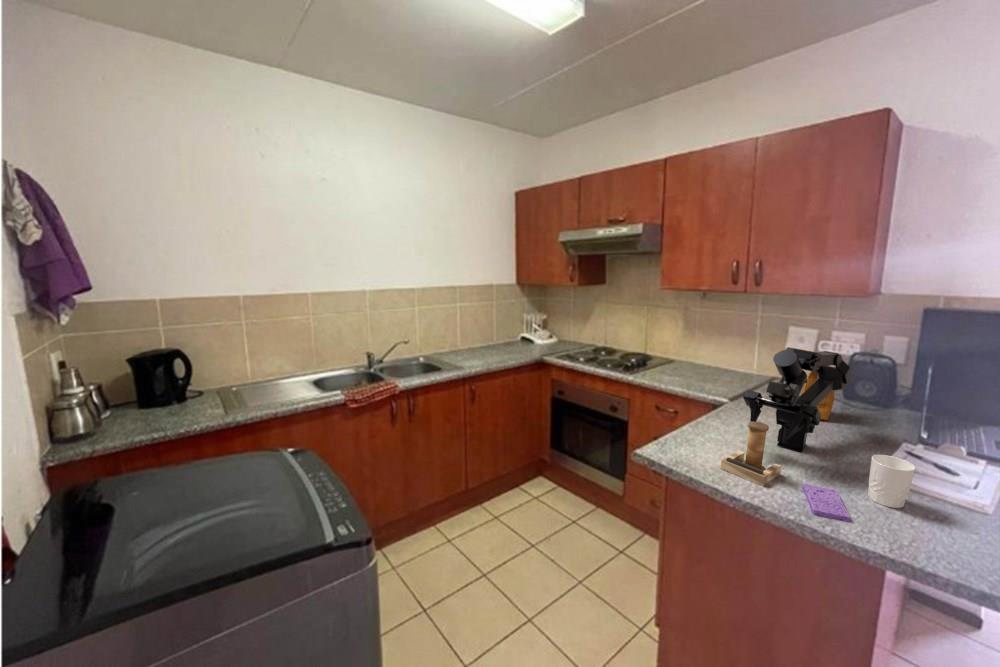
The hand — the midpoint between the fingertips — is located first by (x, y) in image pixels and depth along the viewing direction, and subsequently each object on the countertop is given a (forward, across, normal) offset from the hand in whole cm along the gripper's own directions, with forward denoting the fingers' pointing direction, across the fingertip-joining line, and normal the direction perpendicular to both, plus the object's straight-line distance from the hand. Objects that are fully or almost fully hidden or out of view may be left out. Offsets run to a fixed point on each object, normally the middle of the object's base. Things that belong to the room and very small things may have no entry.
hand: (768, 432), depth 124 cm
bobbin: (+12, 0, +2) cm, 12 cm away
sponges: (+14, +18, 0) cm, 23 cm away
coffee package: (-31, -5, +45) cm, 55 cm away
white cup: (+4, +26, +9) cm, 28 cm away
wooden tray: (+12, 0, 0) cm, 13 cm away
